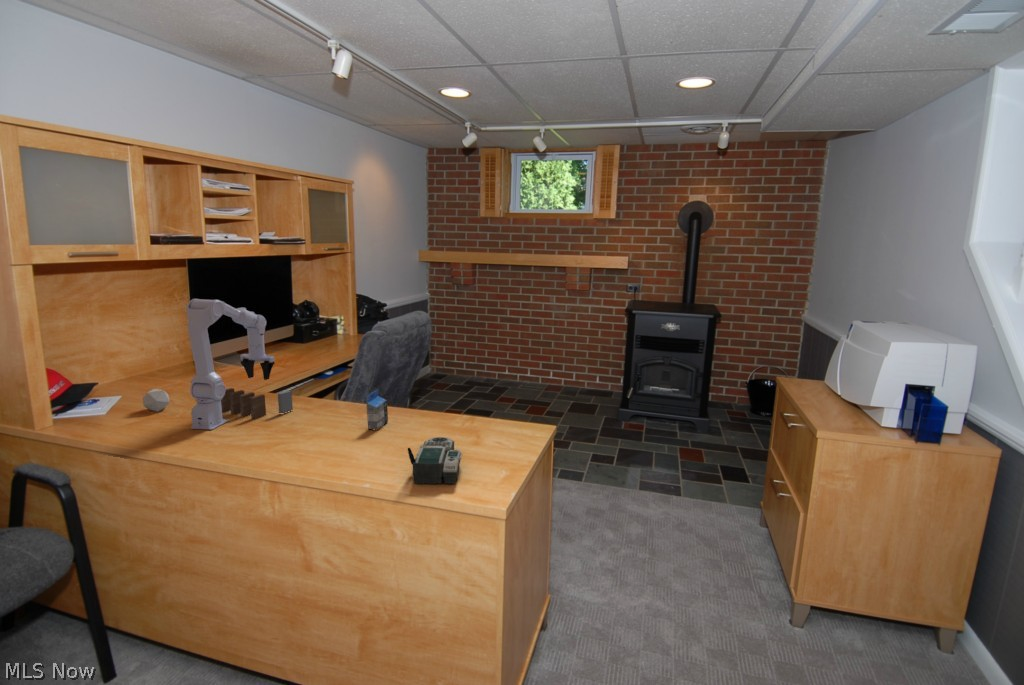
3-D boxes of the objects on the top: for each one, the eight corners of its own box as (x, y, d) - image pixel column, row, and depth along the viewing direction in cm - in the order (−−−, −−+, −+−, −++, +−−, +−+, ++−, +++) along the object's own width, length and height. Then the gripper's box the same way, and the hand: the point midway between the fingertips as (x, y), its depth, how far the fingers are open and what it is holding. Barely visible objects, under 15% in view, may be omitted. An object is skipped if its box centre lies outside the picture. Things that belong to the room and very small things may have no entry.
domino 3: (255, 413, 199) (254, 392, 198) (244, 416, 195) (242, 396, 193) (252, 412, 200) (251, 392, 199) (241, 416, 196) (239, 395, 194)
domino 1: (235, 408, 204) (234, 388, 203) (224, 412, 200) (222, 392, 198) (233, 408, 205) (231, 388, 203) (221, 411, 200) (219, 391, 199)
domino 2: (245, 410, 202) (244, 390, 200) (234, 414, 197) (232, 394, 196) (242, 410, 202) (241, 390, 201) (231, 414, 198) (229, 393, 196)
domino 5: (292, 411, 202) (291, 391, 201) (282, 414, 198) (280, 394, 197) (289, 410, 203) (288, 390, 202) (279, 414, 199) (277, 393, 197)
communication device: (465, 447, 172) (465, 417, 170) (458, 486, 144) (459, 450, 142) (421, 447, 171) (421, 416, 169) (406, 486, 143) (405, 449, 142)
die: (176, 410, 203) (172, 387, 206) (160, 405, 195) (156, 381, 198) (155, 417, 203) (152, 395, 206) (138, 413, 195) (135, 389, 198)
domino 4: (266, 415, 197) (264, 394, 196) (254, 419, 193) (253, 398, 191) (263, 414, 198) (261, 394, 196) (251, 418, 193) (249, 397, 192)
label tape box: (377, 430, 184) (376, 396, 181) (366, 429, 184) (365, 395, 182) (388, 422, 192) (387, 389, 190) (378, 421, 193) (377, 389, 191)
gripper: (278, 344, 209) (281, 377, 212) (248, 341, 213) (251, 374, 216) (266, 347, 203) (268, 381, 205) (235, 344, 207) (237, 378, 209)
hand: (258, 378), depth 210 cm, fingers open, 7 cm apart
